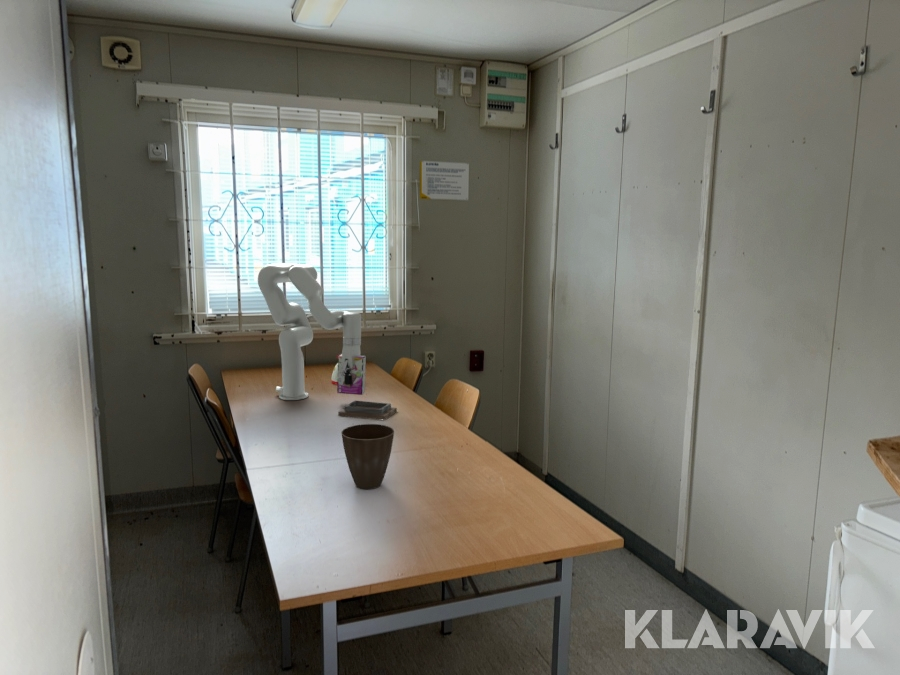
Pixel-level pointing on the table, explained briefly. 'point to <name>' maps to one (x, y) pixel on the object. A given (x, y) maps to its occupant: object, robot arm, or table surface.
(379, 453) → the plant pot
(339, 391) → the candy bar box
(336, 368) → the kitchen timer
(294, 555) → the table surface
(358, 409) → the stand
